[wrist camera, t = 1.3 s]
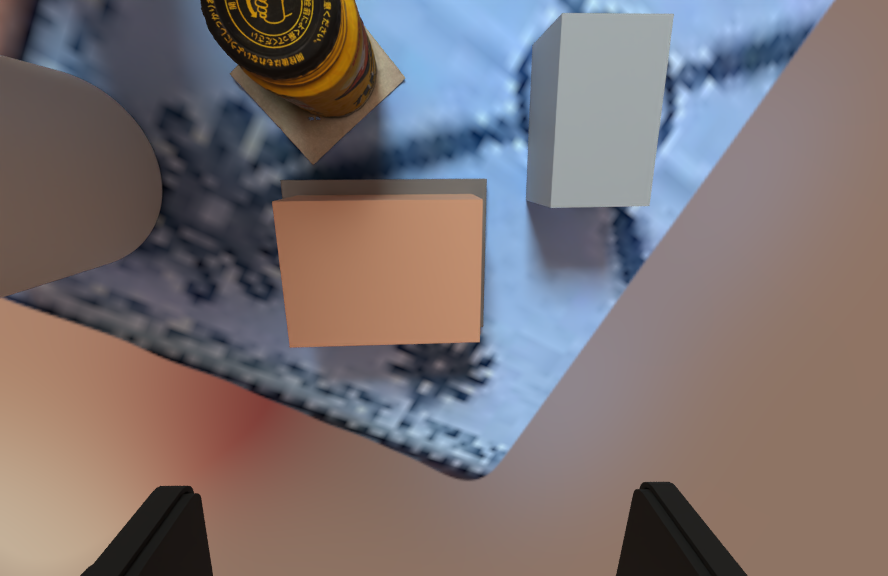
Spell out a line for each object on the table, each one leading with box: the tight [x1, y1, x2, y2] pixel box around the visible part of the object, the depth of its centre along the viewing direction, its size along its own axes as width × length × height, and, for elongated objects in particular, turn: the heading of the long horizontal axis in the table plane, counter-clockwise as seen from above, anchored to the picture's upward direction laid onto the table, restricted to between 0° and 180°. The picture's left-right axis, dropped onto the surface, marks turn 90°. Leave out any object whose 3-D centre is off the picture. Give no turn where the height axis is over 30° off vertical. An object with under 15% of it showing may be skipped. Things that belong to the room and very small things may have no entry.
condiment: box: [200, 0, 405, 165], centre depth 21 cm, size 7×8×12 cm
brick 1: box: [272, 194, 483, 348], centre depth 27 cm, size 12×9×5 cm
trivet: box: [280, 179, 487, 327], centre depth 30 cm, size 11×14×1 cm
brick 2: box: [526, 13, 674, 208], centre depth 26 cm, size 10×6×6 cm, turn 1°
